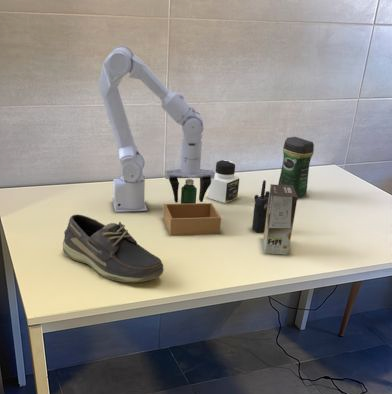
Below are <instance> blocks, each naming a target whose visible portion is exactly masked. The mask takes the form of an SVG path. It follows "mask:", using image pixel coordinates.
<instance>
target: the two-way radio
mask: <svg viewBox="0 0 392 394" xmlns="http://www.w3.org/2000/svg"><path fill="white" fill-rule="evenodd" d="M266 185H267V180H264V179H263V181H262V186H261V191H260V195H258V194H255V195H254V197H253V198H254V199H253V200H254V206H253V214H252V215H253V216H252V224H251V225H252V226H251V228H252V229H251V230H252V231H253V232H256V233H261V232H264V230H265V222H266V215H267V207H268V200H269V192H270V190H269V191H268V190H267V191H266Z"/></svg>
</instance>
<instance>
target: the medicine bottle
mask: <svg viewBox="0 0 392 394" xmlns="http://www.w3.org/2000/svg"><path fill="white" fill-rule="evenodd" d="M214 172H215V176H214V179H211V184H210V186H209V187H208V189H207V190H208V191H207V198H208V199H209V200H212V201H216V202H220V203H223V204H228V203H230V202H232V201H234V200H236V199H238V196H239V188H240V187H239V186H240V176H236V175H235V172H236V163H235V162H234V161H232V160H227V159H224V160H219V161H217V162H216V163H215V171H214Z"/></svg>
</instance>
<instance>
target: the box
mask: <svg viewBox="0 0 392 394" xmlns="http://www.w3.org/2000/svg"><path fill="white" fill-rule="evenodd" d="M163 222H164V224H165V226H166V228H167V231H168V233H169V235H170V236H181V235H183V236H184V235H213V234H214V235H215V234H217V235H219V234H221V225H222V217H221V215H220V213H219V212H218V211H217V209H216V207H215V206H214V204H213V203H212V202H196V203H191V204H181V203H164V204H163Z"/></svg>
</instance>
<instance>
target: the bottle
mask: <svg viewBox="0 0 392 394" xmlns="http://www.w3.org/2000/svg"><path fill="white" fill-rule="evenodd" d="M194 181H195V180H193V178H186V179H185V181H184V183H185V184H184V185H183V186H182V187H181V189H180V190H181V191H180V204H191V203H197V194H198V193H197V192H198V188H197V187H196V186H195V184H194V183H195V182H194Z"/></svg>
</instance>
